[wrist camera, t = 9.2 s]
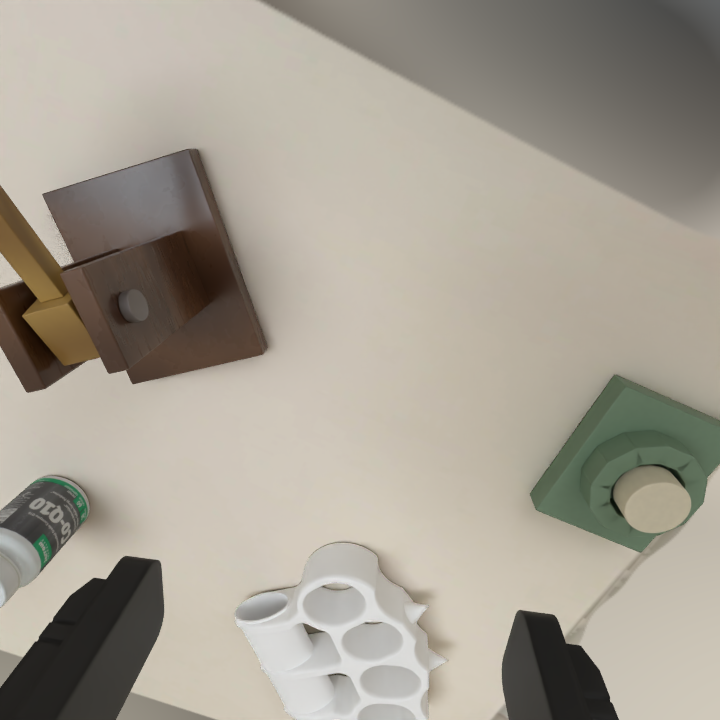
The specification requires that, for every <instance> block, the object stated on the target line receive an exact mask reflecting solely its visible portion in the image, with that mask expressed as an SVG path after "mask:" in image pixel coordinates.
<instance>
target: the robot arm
mask: <svg viewBox="0 0 720 720" xmlns="http://www.w3.org/2000/svg"><path fill="white" fill-rule="evenodd" d="M163 617H164V598H163V584H162V569H161V563H160V561H159V560H153V559H145V558H138V557H131V556H125V557H123V558H122V559H121V560H120V561H119V562H118V563H117V565H116V566H115V568H114V569H113V571H112V572H111V573H110V575H109V576H108V578H107V579H99V578H93V579H92V580H90V581H89V582H88V583H86V584H85V585H84V586H82V587H81V588H80V589H78V590H77V591H76V592H75V593H73V594H72V595H71V596H70V597H69V598H68V599H67V601H66V602H65V603H64V605H63V606H62V607H61V609H60V610H59V611H58V613H57V614H56V615H55V616H54V618H53V621H52V623H49V624H48V626H47V627H46V628H45V630H44V631H43V632H42V634H41V635H40V636H39V640H38V641H37V642H35V643H34V644H33V645H32V647H31V648H30V649H29V651H28V652H27V653H26V655H25V656H24V657H23V659H22V660H21V661H20V663H19V664H18V665H17V667H16V668H15V669H14V670H13V672H12V673H11V674H10V676H9V677H8V678H7V680H6V681H5V682H4V684H3V685H2V686H1V688H0V720H116V718H117V716H118V714H119V712H120V710H121V708H122V707H123V705H124V703H125V700H126V698H127V697H128V695H129V693H130V691H131V689H132V687H133V685H134V683H135V681H136V679H137V677H138V675H139V673H140V671H141V669H142V667H143V665H144V663H145V661H146V659H147V657H148V655H149V654H150V652H151V650H152V648H153V646H154V644H155V642H156V640H157V637H158V635H159V632H160V629H161V626H162V622H163ZM502 685H503V692H504V697H505V702H506V707H507V712H508V717H509V720H619V719H618V717H617V714H616V711H615V709H614V706H613V704H612V703H611V702H610V696H609V693H608V691H607V688H606V686H605V683H604V681H603V678H602V675H601V673H600V670H599V669H598V668H597V666H596V665H595V664H594V662H593V661H592V660H591V659H590V657H589V656H588V655H587V653H586V652H585V651H584V649H583V648H582V647H581V646H579V645H572V644H566V642H565V639H564V636H563V633H562V630H561V628H560V625H559V622H558V620H557V618H556V617H555V616H554V615H552V614H545V613H537V612H530V611H522V610H519V611H518V612H517V613H516V616H515V619H514V622H513V626H512V629H511V633H510V636H509V639H508V643H507V646H506V650H505V653H504V657H503V662H502Z"/></svg>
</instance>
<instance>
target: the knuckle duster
mask: <svg viewBox="0 0 720 720" xmlns="http://www.w3.org/2000/svg"><path fill="white" fill-rule="evenodd" d="M330 583H342V584H347V585H350V586H352V587H351V588H349V589H346V590H330V589H327V588H324V587H322V586H323V585H326V584H330ZM428 606H429V605H423V604H418V603H414V601H413V600H412V599H411V598H410V596H409V595H408V594H407V593H406V591H405V590H404V589H403V588H402V587H400V586H398V585H396V584H394V583H392V582H391V581H389V580H388V579H387V578H386V577H385V576H384V575H383V574H382V572H381V570H380V568H379V565H378V557H377V555H375V554H374V553H373V552H372V551H370V550H368V549H367V548H365V547H362V546H360V545H356V544H352V543H333V544H329V545H326V546H323V547H321V548H319V549H318V550H316V551H315V552H314V553H313V554H312V555H311V556H310V557H309V559H308V560H307V562H306V565H305V568H304V572H303V577H302V581H301V583H300V584H299V585H298V586H296V587H292V588H287V589H282V590H277V591H273V592H265V593H261V594H258V595H255V596H253V597H251V598H249V599H247V600H245V601H244V602H242V603H241V604H240V605H239V606H238V607H237V608H236V610H235V613H234V615H235V618H236V619H235V623H236V625H237V627H239V628H241V629H242V630H243V632H244V634H245V636H246V638H247V639H248V641H249V643H250V645H251V646H252V648H253V650H254V652H255V654H256V655H257V657H258V659H259V661H260V663H261V667H260V668H261V669H262V671H263V672H264V673H266V674H267V675H268V677H269V679H270V680H271V682H272V684H273V686H274V687H275V689H276V691H277V693H278V695H279V696H280V698H281V700H282V702H283V703H284V710H285V712H286V713H287V714H289V715H290V716H291V717H293V718H294V719H296V720H428V719H429V707H428V689H429V672H430V671H432V670H433V669H435V668H437V667H438V666H440V665H442V664H444V663H445V662H447V661H449V660H448V659H446V658H444V657H443V656H441V655H439V654H437V653H436V652H434V651H432V650H431V649H429V648H428V636H427V633H426V632H425V631H423V630H422V629H421V628H420V627H419V625H418V624H417V620H418V619H419V618H420V617H421V615H422V614H423V613H424V611H425V610H426V609H427V608H428ZM372 621H378V622H383V623H379V624H366V622H372ZM302 623H305V624H308V625H310V626H312V627H314V628H316V629H318V630H321V631H324V632H318V633H313V634H307V632H306V630H305V628H304V626H303V624H302ZM335 673H342V674H345V675H347V676H343V675H339V674H338V675H332V676H328V674H335Z"/></svg>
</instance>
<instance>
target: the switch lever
mask: <svg viewBox="0 0 720 720" xmlns="http://www.w3.org/2000/svg"><path fill="white" fill-rule="evenodd" d="M0 252H1V254H2V255H3V256H4V257H5V259H6V260H7V261H8V262H9V263H10V265H11V266H12V267H13V268H14V270H15V271H16V272H17V273H18V275H19V276H20V277H21V278H22V280H23V281H24V282H25V283H26V285H27V286H28V287H29V288H30V290H31V291H32V292H33V293H34V295H35V296H36V297H37V298H38V299H37V300H36V301H35V302H34V303H33V304H32V305H31V306H30V307H29V309H28V310H27V311H26V312H25V313H24V314H23V315H22V317H23V318H24V319H25V320H26V321H27V323H28V324H29V325H30V326H31V327H32V329H33V330H34V331H35V332H36V333H37V334H38V336H39V337H40V338H41V339H42V340H43V341H44V343H45V344H46V345H47V346H48V347H49V349H50V350H51V351H52V352H53V353H54V354H55V356H56V357H57V358H58V359H59V360H60V361H61V363H62V364H63V365H64V366H66V365H71V364H75V363H79V362H83V361H87V360H91V359H95V358H100V355H99V353H98V351H97V349H96V347H95V345H94V343H93V341H92V339H91V337H90V335H89V333H88V331H87V329H86V327H85V325H84V323H83V321H82V319H81V317H80V315H79V313H78V311H77V309H76V307H75V305H74V303H73V301H72V299H71V297H70V295H69V292H68V290H67V288H66V286H65V284H64V282H63V280H62V278H61V276H60V273H61V272H64V271H63V270H62V268H61V267H60V266H59V264H58V263H57V262H56V260H55V259H54V257H53V256H52V255H51V253H50V252H49V251H48V249H47V248H46V247H45V245H44V244H43V243H42V241H41V240H40V238H39V237H38V236H37V234H36V233H35V232H34V230H33V229H32V228H31V226H30V225H29V224H28V222H27V221H26V219H25V218H24V217H23V215H22V214H21V213H20V211H19V210H18V209H17V207H16V206H15V205H14V203H13V202H12V200H11V199H10V198H9V196H8V195H7V194H6V192H5V191H4V190H3V188H2V187H1V186H0Z"/></svg>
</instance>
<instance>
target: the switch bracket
mask: <svg viewBox="0 0 720 720" xmlns="http://www.w3.org/2000/svg"><path fill="white" fill-rule="evenodd" d="M42 195H43V197H44V199H45V202H46V204H47V206H48V208H49V210H50V212H51V214H52V216H53V218H54V220H55V223H56V225H57V227H58V229H59V231H60V233H61V235H62V237H63V239H64V241H65V243H66V246H67V248H68V250H69V252H70V254H71V256H72V258H73V260H74V262H73V263H70V264H67V265H65V266H62V267H61V268H62V270H63V271H64V272H61V273H60V276H61V278H62V280H63V282H64V284H65V286H66V288H67V290H68V292H69V295H70V297H71V299H72V301H73V303H74V305H75V307H76V309H77V311H78V313H79V315H80V317H81V319H82V321H83V323H84V325H85V327H86V329H87V331H88V333H89V335H90V337H91V339H92V341H93V343H94V345H95V347H96V349H97V351H98V353H99V355H100V357H101V360H102V362H103V364H104V366H105V368H106V370H107V372H108V373H109V374H111V373H115V372H120V371H124V370H126V371H127V373H128V376H129V378H130V380H131V382H132V384H136V383H140V382H145V381H149V380H154V379H158V378H162V377H167V376H171V375H176V374H180V373H184V372H189V371H193V370H198V369H202V368H206V367H211V366H215V365H219V364H224V363H228V362H233V361H237V360H241V359H246V358H250V357H255V356H259V355H263V354H264V352H265V351H266V349H267V345H266V342H265V339H264V336H263V333H262V331H261V328H260V325H259V322H258V319H257V317H256V314H255V311H254V308H253V305H252V303H251V300H250V297H249V294H248V291H247V289H246V286H245V283H244V280H243V277H242V274H241V272H240V269H239V266H238V263H237V260H236V258H235V255H234V252H233V249H232V246H231V244H230V241H229V238H228V235H227V232H226V230H225V227H224V224H223V221H222V218H221V216H220V213H219V210H218V207H217V204H216V202H215V199H214V196H213V193H212V190H211V188H210V185H209V182H208V179H207V176H206V174H205V171H204V168H203V165H202V162H201V160H200V157H199V154H198V151H197V149H186V150H183V151H180V152H176V153H173V154H170V155H167V156H163V157H160V158H157V159H154V160H151V161H147V162H144V163H141V164H138V165H134V166H131V167H128V168H125V169H122V170H118V171H115V172H112V173H109V174H105V175H102V176H99V177H96V178H92V179H89V180H86V181H83V182H80V183H76V184H73V185H70V186H67V187H63V188H60V189H57V190H54V191H50V192H47V193H44V194H42ZM37 299H38V298H37V297H36V296H35V295H34V293H33V292H32V291H31V290H30V288H29V287H28V286H27V285H26V283H25V282H24V281H23V280H21V281H18V282H15V283H12V284H9V285H6V286H3V287H1V288H0V346H1V348H2V350H3V352H4V353H5V355H6V357H7V359H8V360H9V362H10V364H11V366H12V368H13V369H14V371H15V373H16V375H17V376H18V378H19V380H20V382H21V383H22V385H23V387H24V389H25V390H26V392H27V393H29V392H34V391H38V390H42V389H46V388H47V387H49V386H50V385H52V384H53V383H55V382H56V381H58V380H59V379H61V378H62V377H64V376H65V375H67V374H68V373H70V372H71V371H73V370H74V369H76V368H77V367H79V366H80V365H82V364H83V363H85V362H86V361H83V362H79V363H75V364H71V365H66V366H64V365H63V364H62V363H61V361H60V360H59V359H58V358H57V357H56V356H55V354H54V353H53V352H52V351H51V350H50V349H49V347H48V346H47V345H46V344H45V343H44V341H43V340H42V339H41V338H40V337H39V336H38V334H37V333H36V332H35V331H34V330H33V329H32V327H31V326H30V325H29V324H28V323H27V321H26V320H25V319H24V318H23V317H22V315H23V314H24V313H25V312H26V311H27V310H28V309H29V307H30V306H31V305H32V304H33V303H34V302H35V301H36V300H37ZM87 361H88V360H87Z"/></svg>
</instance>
